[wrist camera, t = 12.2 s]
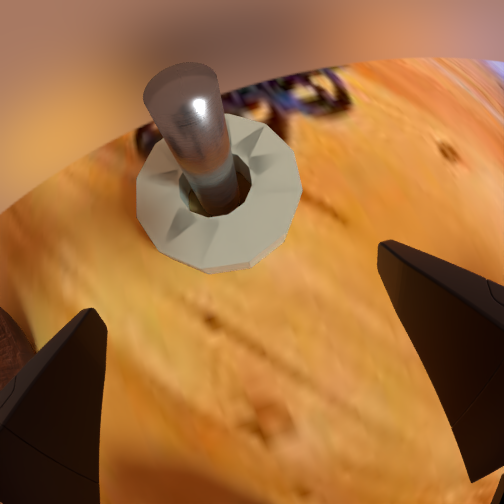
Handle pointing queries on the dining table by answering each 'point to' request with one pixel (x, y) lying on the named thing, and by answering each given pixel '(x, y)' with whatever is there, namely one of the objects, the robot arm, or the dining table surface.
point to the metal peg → (196, 132)
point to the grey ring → (226, 226)
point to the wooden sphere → (12, 349)
